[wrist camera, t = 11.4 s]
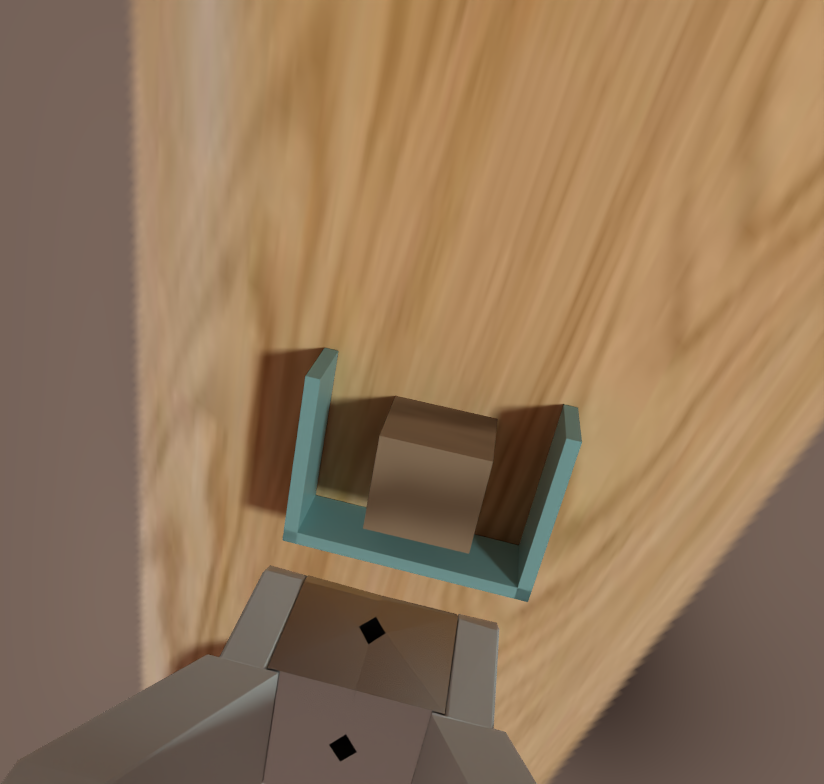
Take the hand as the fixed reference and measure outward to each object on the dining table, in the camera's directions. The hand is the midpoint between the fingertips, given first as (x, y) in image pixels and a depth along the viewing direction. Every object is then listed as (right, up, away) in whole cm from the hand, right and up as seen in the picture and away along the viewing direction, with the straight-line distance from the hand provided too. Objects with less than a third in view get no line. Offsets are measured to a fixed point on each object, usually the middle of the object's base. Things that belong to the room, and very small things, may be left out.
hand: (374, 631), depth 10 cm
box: (+2, -1, +35) cm, 35 cm away
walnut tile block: (+2, 0, +35) cm, 35 cm away
